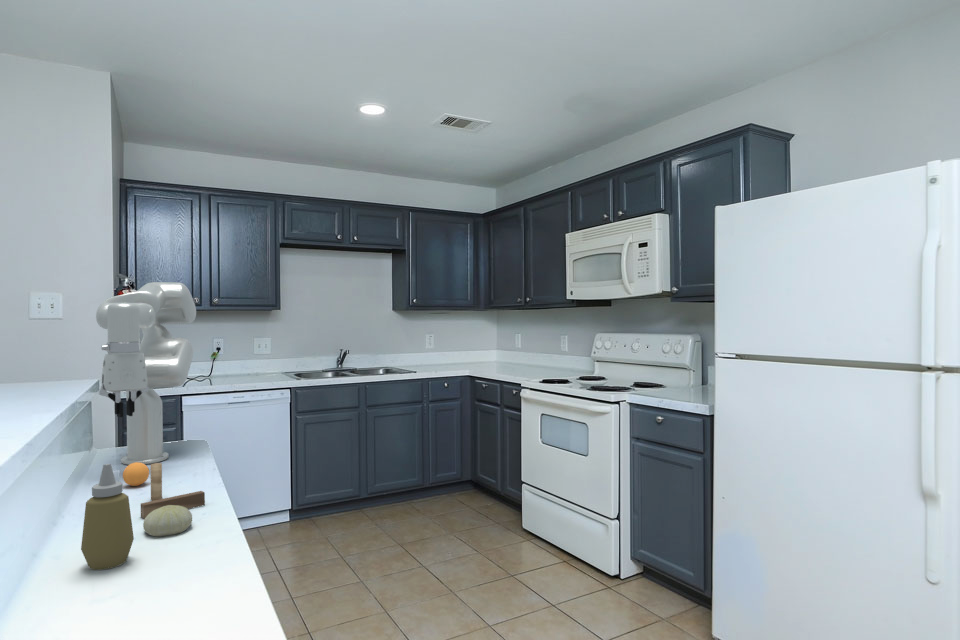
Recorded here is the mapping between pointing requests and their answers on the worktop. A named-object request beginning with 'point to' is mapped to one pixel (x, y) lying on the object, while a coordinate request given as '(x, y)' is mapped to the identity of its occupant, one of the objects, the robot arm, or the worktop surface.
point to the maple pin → (156, 481)
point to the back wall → (174, 502)
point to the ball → (136, 474)
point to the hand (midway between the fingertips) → (124, 415)
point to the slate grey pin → (116, 475)
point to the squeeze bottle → (107, 524)
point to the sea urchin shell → (167, 520)
